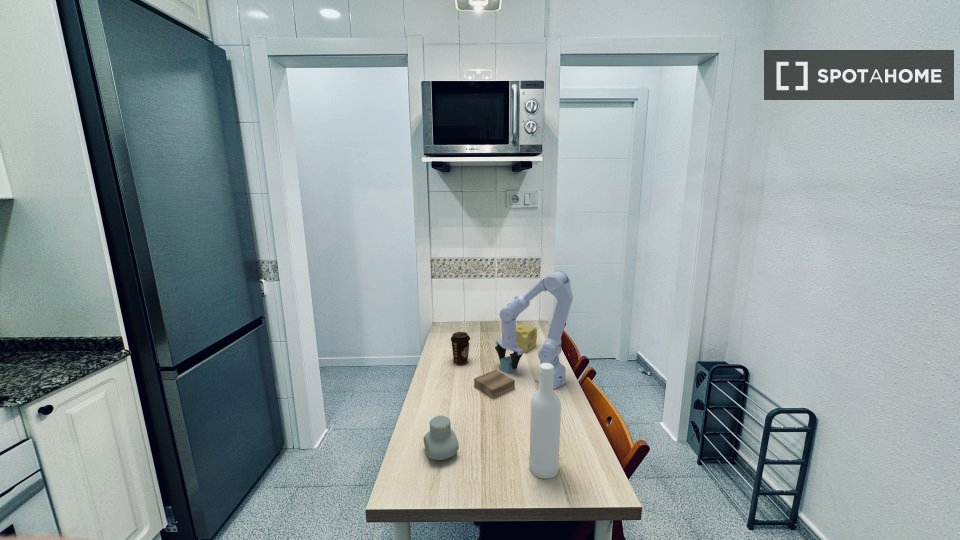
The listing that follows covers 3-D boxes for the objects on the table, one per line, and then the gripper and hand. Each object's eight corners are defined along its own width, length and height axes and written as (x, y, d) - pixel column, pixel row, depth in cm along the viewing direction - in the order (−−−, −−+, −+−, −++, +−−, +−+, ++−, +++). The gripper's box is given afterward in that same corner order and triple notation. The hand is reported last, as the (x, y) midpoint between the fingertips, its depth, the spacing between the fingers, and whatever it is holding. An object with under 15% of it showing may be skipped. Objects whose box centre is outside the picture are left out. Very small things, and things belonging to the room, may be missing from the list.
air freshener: (422, 444, 108) (420, 414, 106) (448, 437, 111) (447, 407, 109) (432, 469, 98) (431, 436, 96) (461, 460, 101) (460, 428, 99)
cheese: (526, 354, 168) (526, 333, 166) (506, 348, 175) (506, 328, 173) (537, 346, 176) (537, 327, 174) (518, 341, 183) (518, 322, 181)
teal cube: (517, 370, 152) (517, 359, 151) (508, 374, 149) (508, 363, 148) (508, 366, 156) (508, 355, 155) (500, 370, 153) (500, 359, 152)
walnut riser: (514, 389, 138) (514, 380, 137) (492, 400, 131) (492, 390, 131) (495, 378, 146) (495, 369, 146) (474, 388, 140) (474, 378, 139)
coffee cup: (471, 358, 164) (471, 331, 162) (469, 366, 156) (469, 338, 153) (452, 357, 165) (452, 330, 162) (449, 366, 157) (448, 337, 154)
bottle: (555, 457, 102) (558, 358, 96) (562, 479, 94) (566, 372, 88) (526, 458, 102) (528, 359, 95) (531, 480, 94) (533, 373, 88)
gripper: (528, 337, 146) (527, 368, 149) (504, 327, 157) (503, 356, 160) (515, 341, 142) (515, 373, 145) (491, 331, 153) (491, 361, 156)
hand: (508, 365), depth 152 cm, fingers open, 7 cm apart
